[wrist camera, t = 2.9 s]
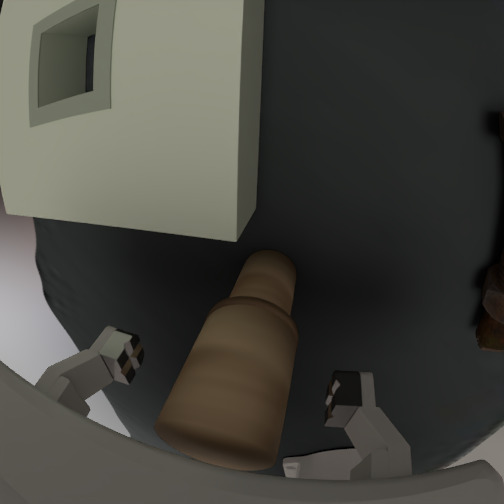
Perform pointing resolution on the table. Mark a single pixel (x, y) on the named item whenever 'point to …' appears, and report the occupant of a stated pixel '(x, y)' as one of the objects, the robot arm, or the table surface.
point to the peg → (238, 372)
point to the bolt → (493, 298)
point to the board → (132, 113)
